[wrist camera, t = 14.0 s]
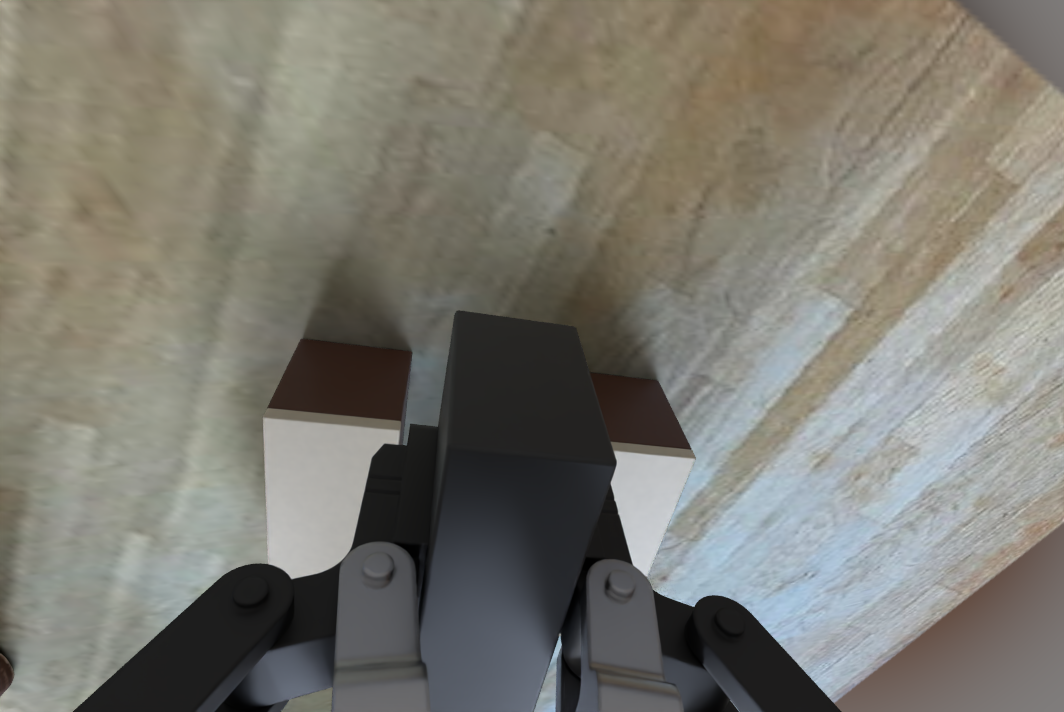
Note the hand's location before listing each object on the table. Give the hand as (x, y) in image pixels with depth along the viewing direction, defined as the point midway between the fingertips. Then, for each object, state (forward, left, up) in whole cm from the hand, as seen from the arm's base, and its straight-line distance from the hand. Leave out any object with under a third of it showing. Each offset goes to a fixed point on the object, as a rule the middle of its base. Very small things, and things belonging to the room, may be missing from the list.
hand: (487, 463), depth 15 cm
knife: (+6, 0, 0) cm, 6 cm away
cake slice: (+11, -5, -14) cm, 18 cm away
